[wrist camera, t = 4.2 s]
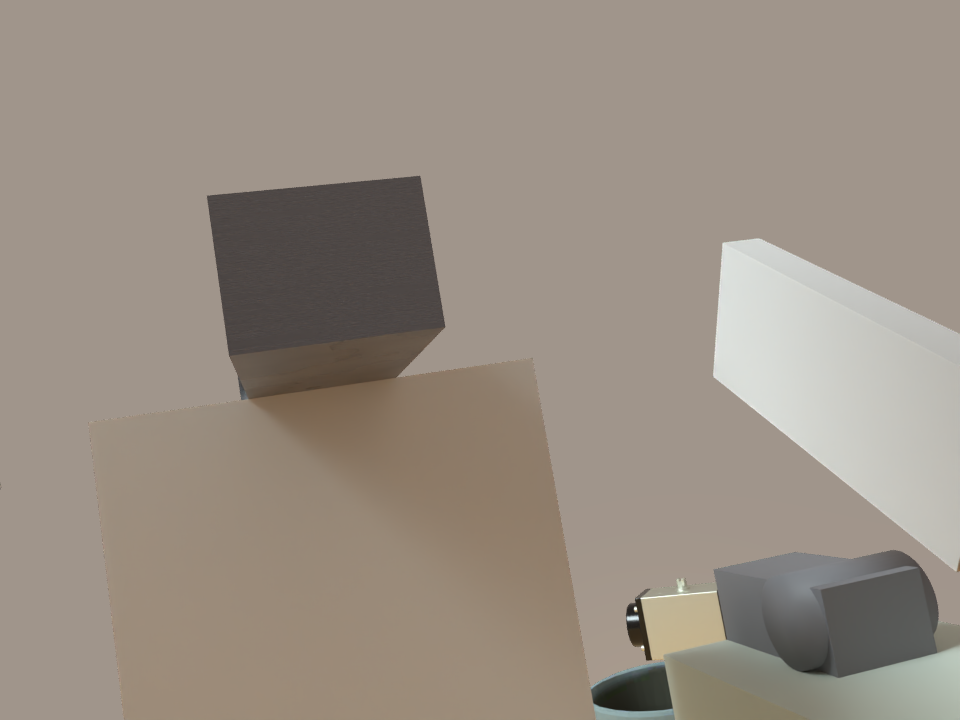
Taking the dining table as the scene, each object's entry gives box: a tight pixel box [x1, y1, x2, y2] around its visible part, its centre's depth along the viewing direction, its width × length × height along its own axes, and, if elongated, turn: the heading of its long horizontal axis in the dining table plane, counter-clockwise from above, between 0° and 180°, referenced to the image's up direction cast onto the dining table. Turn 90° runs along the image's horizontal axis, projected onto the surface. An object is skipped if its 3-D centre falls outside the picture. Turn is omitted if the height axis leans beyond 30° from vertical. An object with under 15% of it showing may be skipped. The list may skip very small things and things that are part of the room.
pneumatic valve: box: [626, 578, 727, 660], centre depth 90 cm, size 6×12×12 cm, turn 65°
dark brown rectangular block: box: [207, 176, 445, 400], centre depth 26 cm, size 20×5×3 cm, turn 12°
